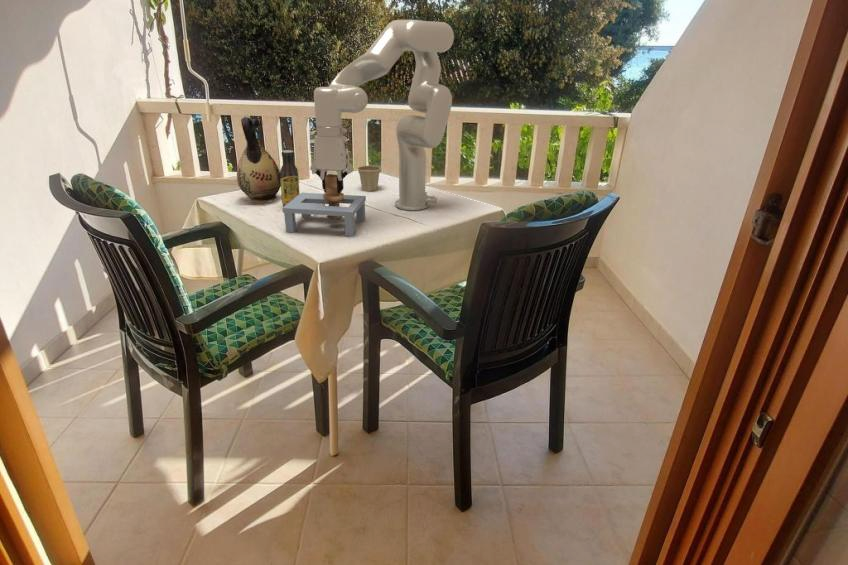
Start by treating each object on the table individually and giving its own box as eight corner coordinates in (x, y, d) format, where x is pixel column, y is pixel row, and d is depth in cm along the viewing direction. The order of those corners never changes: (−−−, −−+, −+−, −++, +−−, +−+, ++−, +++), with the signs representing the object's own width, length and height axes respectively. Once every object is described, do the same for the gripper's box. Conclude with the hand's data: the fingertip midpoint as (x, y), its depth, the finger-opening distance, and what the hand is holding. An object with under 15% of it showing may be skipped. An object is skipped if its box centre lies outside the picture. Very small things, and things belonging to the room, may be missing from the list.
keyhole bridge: (303, 215, 169) (301, 192, 165) (366, 219, 166) (365, 196, 163) (285, 232, 154) (282, 207, 150) (353, 237, 151) (352, 212, 148)
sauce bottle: (284, 211, 172) (278, 153, 163) (280, 206, 177) (274, 150, 168) (303, 208, 175) (298, 152, 166) (298, 203, 180) (293, 148, 171)
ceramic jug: (246, 193, 190) (234, 112, 177) (286, 193, 191) (278, 112, 178) (234, 207, 175) (220, 119, 161) (278, 207, 176) (268, 120, 163)
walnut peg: (347, 214, 161) (345, 173, 155) (341, 221, 155) (339, 178, 149) (328, 213, 161) (325, 172, 155) (322, 219, 156) (319, 177, 150)
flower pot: (358, 186, 202) (357, 165, 198) (381, 186, 203) (380, 165, 199) (357, 192, 194) (357, 171, 190) (381, 192, 195) (381, 170, 191)
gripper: (359, 130, 149) (361, 190, 157) (306, 128, 151) (311, 187, 159) (353, 135, 142) (356, 196, 150) (298, 132, 144) (303, 193, 152)
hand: (333, 191), depth 155 cm, fingers closed on walnut peg, 3 cm apart
